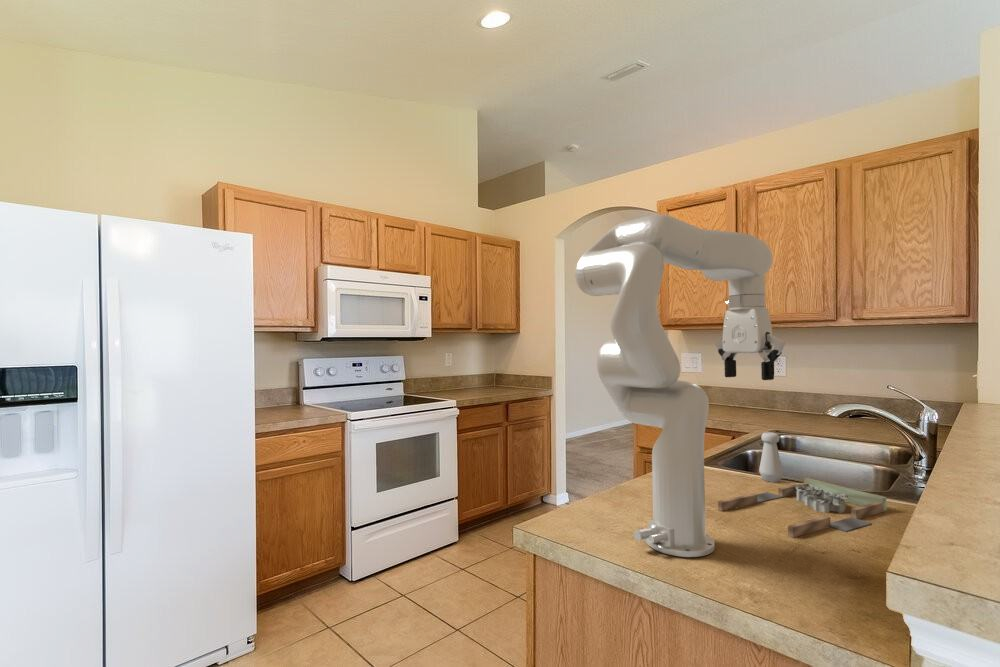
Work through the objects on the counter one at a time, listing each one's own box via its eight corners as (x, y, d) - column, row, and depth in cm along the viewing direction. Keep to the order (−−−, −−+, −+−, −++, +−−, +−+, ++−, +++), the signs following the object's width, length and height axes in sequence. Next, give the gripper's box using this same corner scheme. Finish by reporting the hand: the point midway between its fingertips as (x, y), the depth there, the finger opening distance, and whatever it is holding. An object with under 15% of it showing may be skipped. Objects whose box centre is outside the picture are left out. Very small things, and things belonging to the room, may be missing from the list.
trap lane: (807, 543, 96) (807, 527, 96) (707, 506, 118) (707, 493, 118) (902, 514, 110) (901, 501, 110) (796, 486, 132) (796, 475, 132)
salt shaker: (781, 484, 134) (780, 435, 134) (757, 480, 137) (756, 433, 137) (784, 479, 138) (783, 432, 138) (761, 476, 142) (760, 430, 142)
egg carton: (851, 514, 112) (850, 496, 112) (815, 514, 112) (815, 496, 112) (824, 499, 122) (823, 482, 122) (792, 498, 123) (791, 481, 123)
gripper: (704, 305, 121) (706, 376, 120) (770, 300, 105) (772, 382, 105) (726, 306, 124) (728, 375, 124) (793, 301, 108) (795, 380, 108)
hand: (748, 378), depth 114 cm, fingers open, 9 cm apart
